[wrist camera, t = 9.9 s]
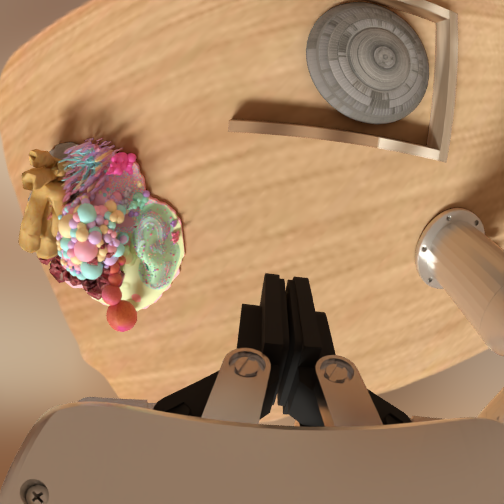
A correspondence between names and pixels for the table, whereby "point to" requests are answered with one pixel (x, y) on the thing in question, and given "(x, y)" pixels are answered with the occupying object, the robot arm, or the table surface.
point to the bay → (441, 100)
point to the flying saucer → (367, 63)
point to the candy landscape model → (101, 227)
